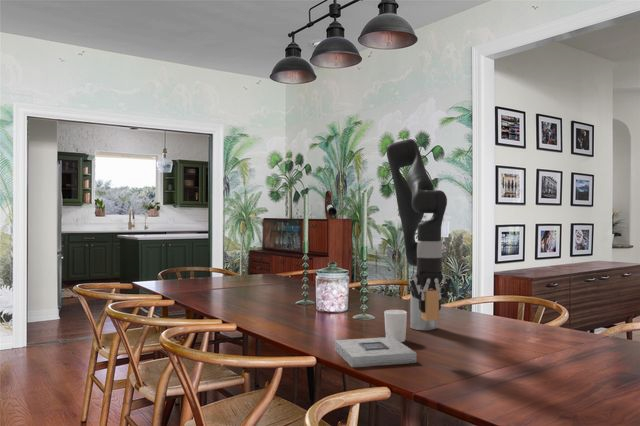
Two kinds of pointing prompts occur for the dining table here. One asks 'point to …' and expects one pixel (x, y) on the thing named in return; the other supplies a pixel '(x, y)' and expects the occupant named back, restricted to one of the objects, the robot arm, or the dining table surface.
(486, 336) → the dining table surface
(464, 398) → the dining table surface
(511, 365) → the dining table surface
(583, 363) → the dining table surface
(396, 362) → the slab with square hole
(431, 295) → the tan wooden block
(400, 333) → the white cup
